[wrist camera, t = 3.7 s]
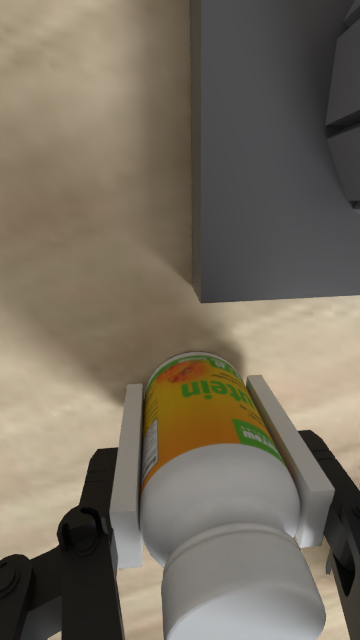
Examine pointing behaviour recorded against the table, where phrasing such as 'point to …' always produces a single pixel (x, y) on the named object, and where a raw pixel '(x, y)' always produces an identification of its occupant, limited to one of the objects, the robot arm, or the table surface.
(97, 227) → the table surface
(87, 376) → the table surface
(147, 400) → the supplement bottle
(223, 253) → the square plate with collar
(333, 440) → the table surface
